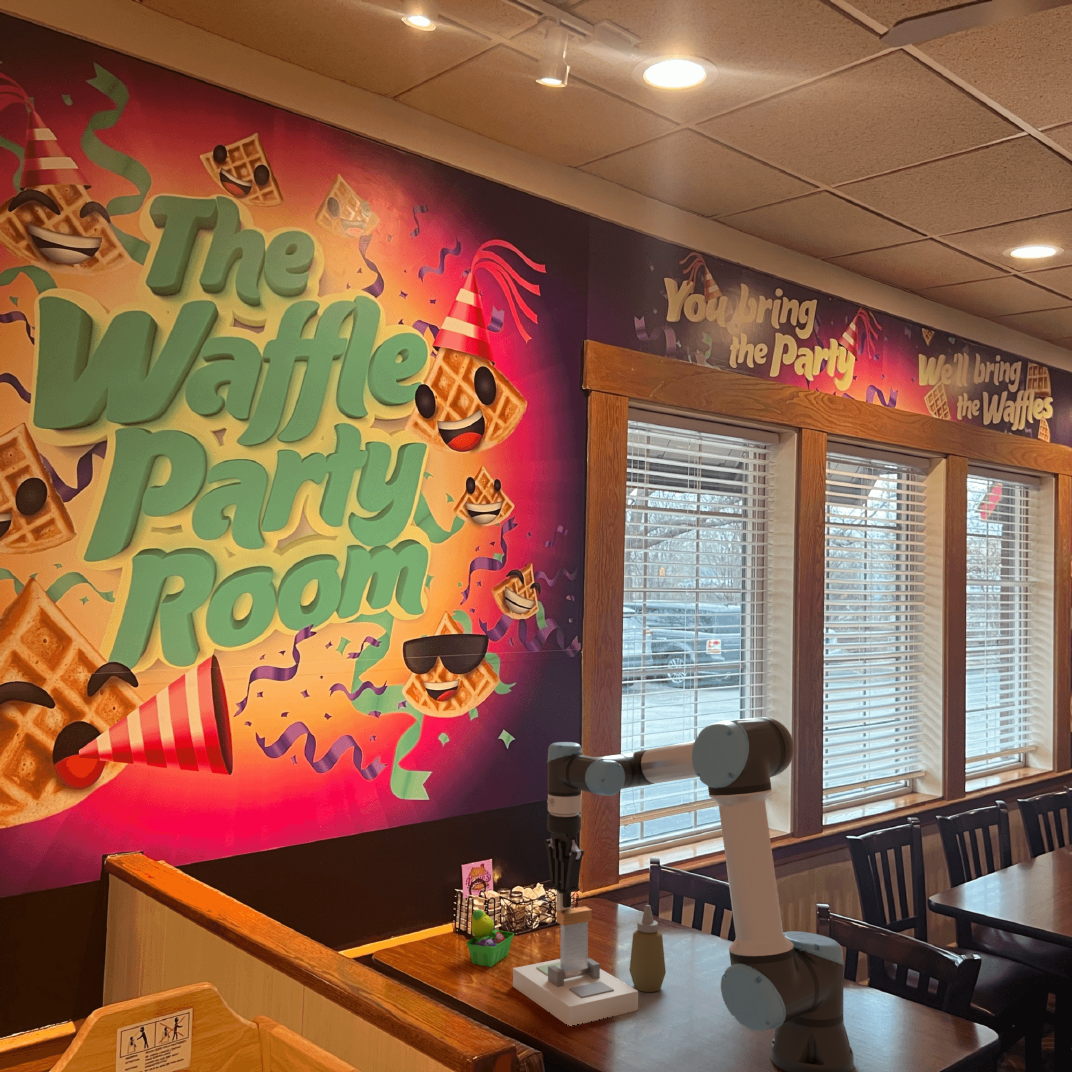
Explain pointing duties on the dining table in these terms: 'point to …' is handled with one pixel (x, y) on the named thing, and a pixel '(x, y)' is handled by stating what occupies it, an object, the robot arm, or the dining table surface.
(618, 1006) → the switch panel
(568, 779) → the robot arm
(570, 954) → the lever
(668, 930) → the dining table surface
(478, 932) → the fruit basket
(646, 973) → the squeeze bottle
